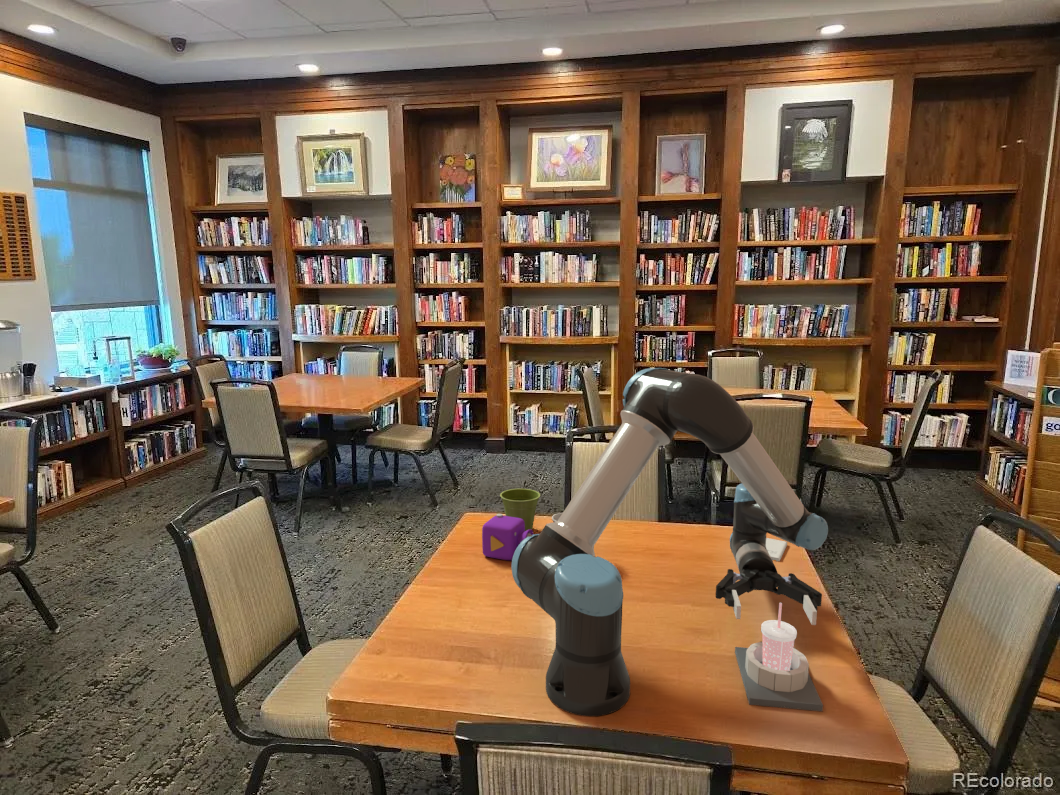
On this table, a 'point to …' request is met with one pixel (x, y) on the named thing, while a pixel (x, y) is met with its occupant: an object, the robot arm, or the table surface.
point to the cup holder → (777, 681)
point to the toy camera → (503, 536)
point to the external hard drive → (775, 548)
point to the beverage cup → (778, 643)
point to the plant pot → (521, 504)
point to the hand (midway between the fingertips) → (776, 615)
